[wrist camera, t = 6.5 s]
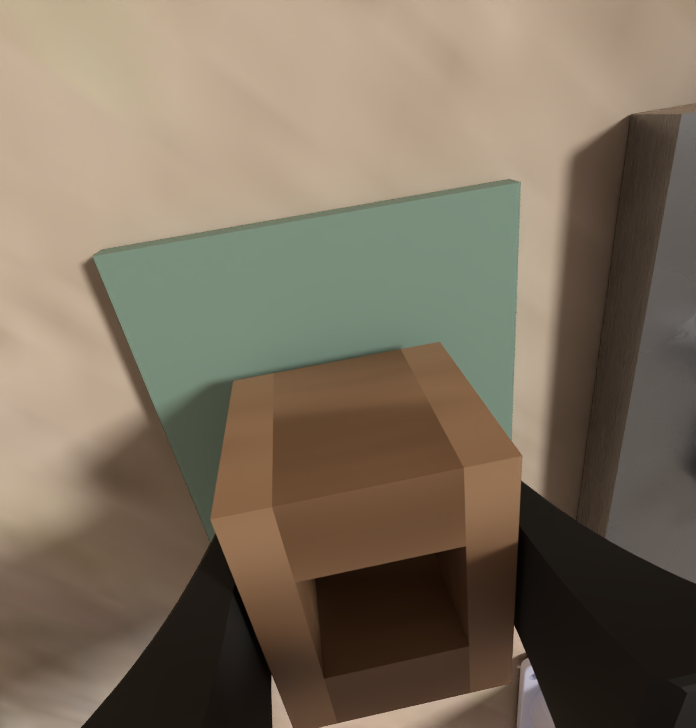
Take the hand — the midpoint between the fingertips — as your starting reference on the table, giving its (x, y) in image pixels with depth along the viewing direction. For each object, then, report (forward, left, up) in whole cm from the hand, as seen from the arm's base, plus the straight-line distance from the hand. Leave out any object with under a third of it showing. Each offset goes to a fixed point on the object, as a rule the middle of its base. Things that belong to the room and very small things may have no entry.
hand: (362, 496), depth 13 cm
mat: (0, 0, -2) cm, 2 cm away
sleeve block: (0, 0, -1) cm, 1 cm away
